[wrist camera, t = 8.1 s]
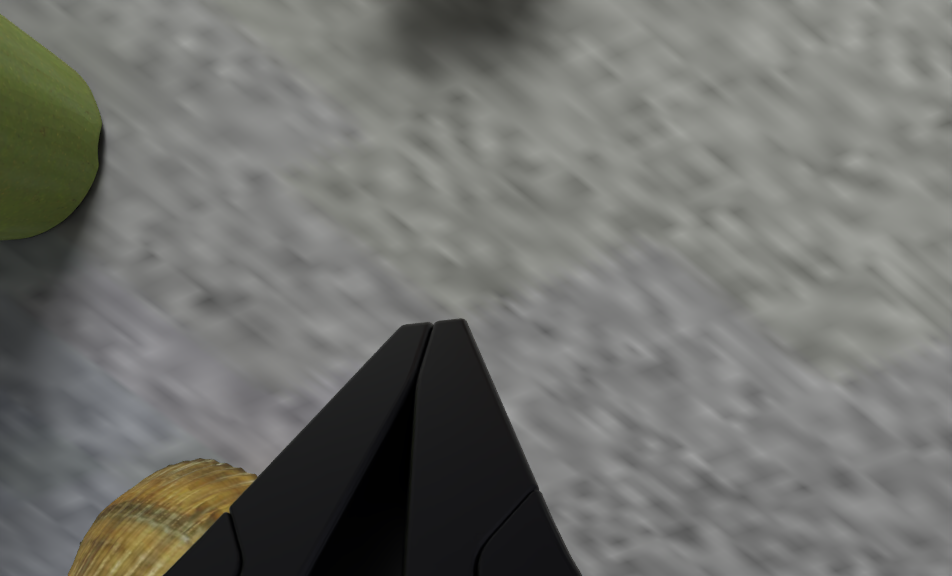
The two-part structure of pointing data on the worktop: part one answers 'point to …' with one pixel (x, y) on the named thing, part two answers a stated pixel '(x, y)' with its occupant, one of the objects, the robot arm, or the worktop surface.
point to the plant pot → (42, 136)
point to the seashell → (159, 519)
